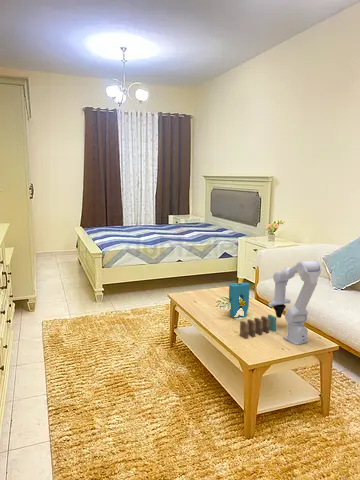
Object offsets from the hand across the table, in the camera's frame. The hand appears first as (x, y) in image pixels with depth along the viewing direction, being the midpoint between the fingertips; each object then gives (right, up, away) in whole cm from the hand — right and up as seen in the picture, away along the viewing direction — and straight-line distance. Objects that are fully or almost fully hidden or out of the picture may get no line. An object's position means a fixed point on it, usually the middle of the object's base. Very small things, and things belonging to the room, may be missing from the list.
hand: (278, 317), depth 203 cm
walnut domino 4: (-9, -7, -4) cm, 12 cm away
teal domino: (-4, -7, -1) cm, 8 cm away
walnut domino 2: (-17, -8, -8) cm, 20 cm away
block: (-19, -4, +19) cm, 27 cm away
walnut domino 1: (-21, -8, -11) cm, 25 cm away
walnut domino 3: (-13, -7, -6) cm, 16 cm away
